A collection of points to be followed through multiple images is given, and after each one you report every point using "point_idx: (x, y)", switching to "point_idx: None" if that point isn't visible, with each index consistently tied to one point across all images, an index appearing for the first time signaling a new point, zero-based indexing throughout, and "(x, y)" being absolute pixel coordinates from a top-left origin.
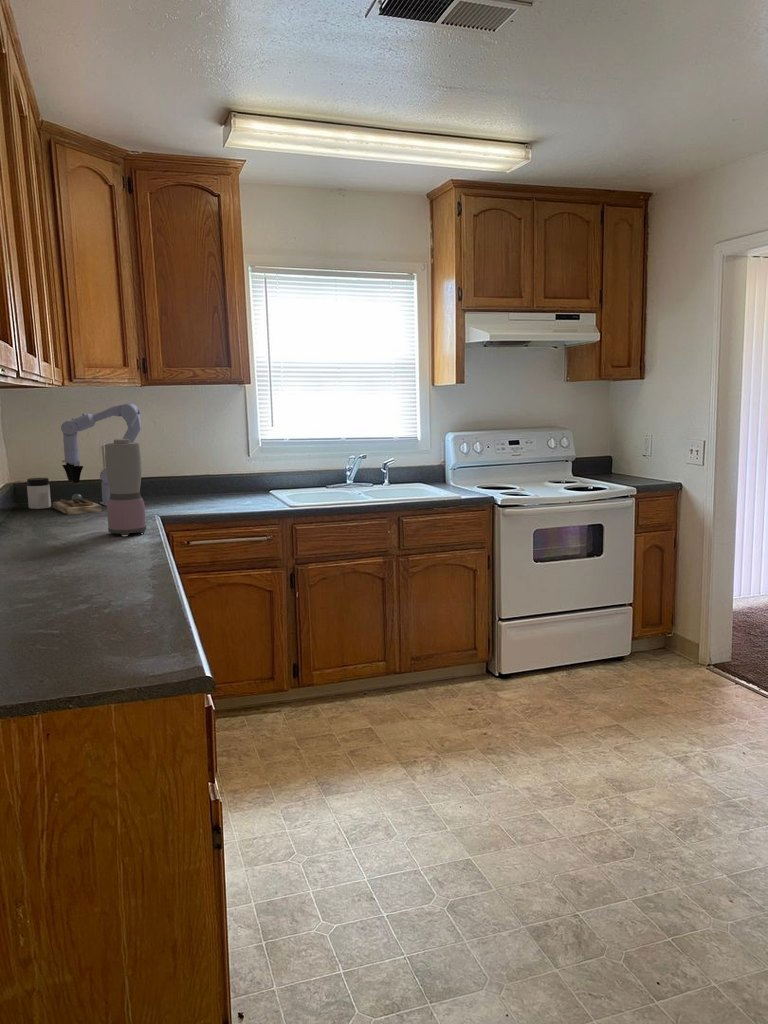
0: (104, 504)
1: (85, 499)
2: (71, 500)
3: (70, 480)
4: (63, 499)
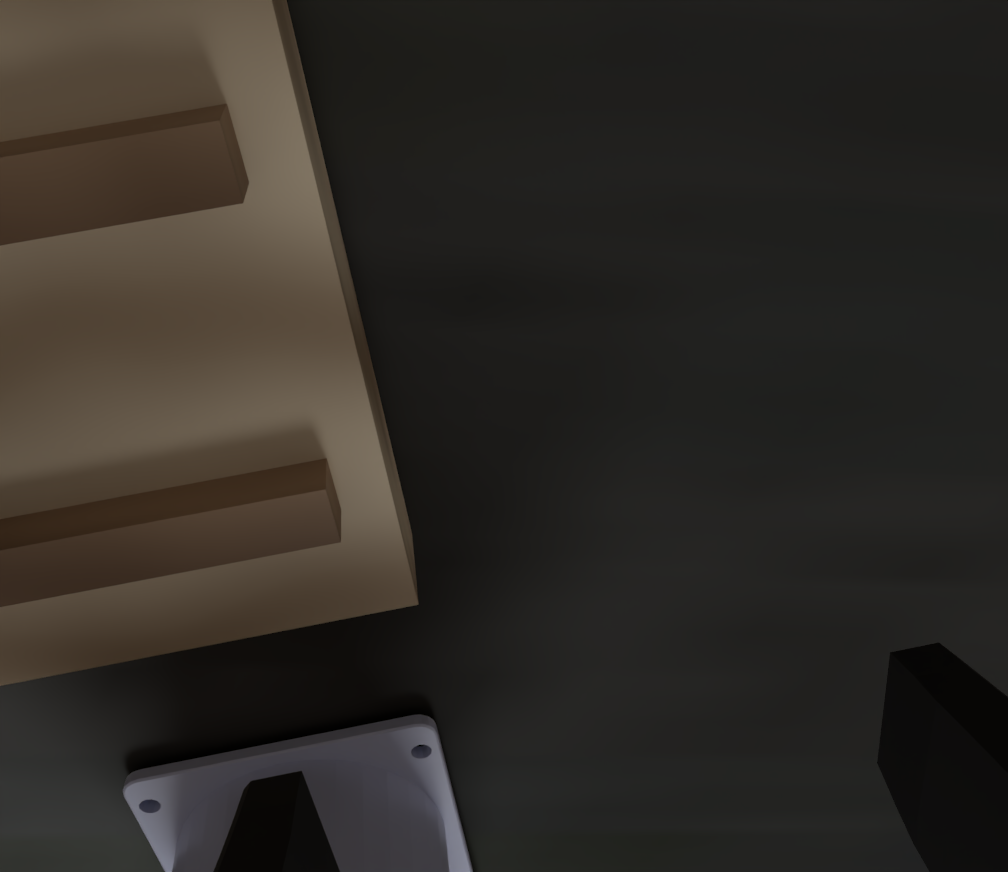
0: (147, 776)
1: (369, 606)
2: (352, 366)
3: (895, 701)
4: (162, 203)
